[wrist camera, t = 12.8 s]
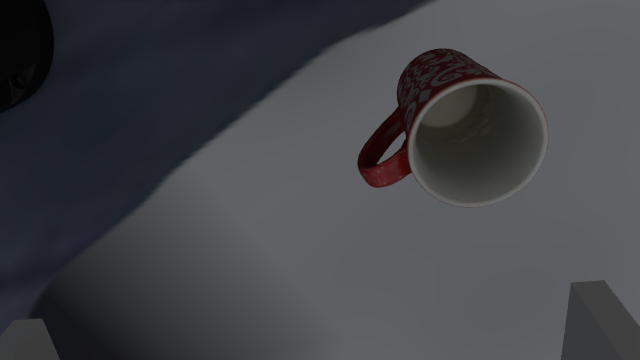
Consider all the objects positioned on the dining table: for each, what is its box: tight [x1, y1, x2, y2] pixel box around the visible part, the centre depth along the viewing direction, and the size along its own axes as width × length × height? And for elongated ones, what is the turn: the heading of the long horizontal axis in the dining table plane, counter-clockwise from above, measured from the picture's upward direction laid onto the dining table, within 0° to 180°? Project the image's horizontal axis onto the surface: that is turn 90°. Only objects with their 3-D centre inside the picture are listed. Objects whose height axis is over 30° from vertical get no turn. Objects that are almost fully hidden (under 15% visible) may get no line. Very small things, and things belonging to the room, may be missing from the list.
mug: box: [358, 49, 549, 208], centre depth 40 cm, size 13×9×14 cm
